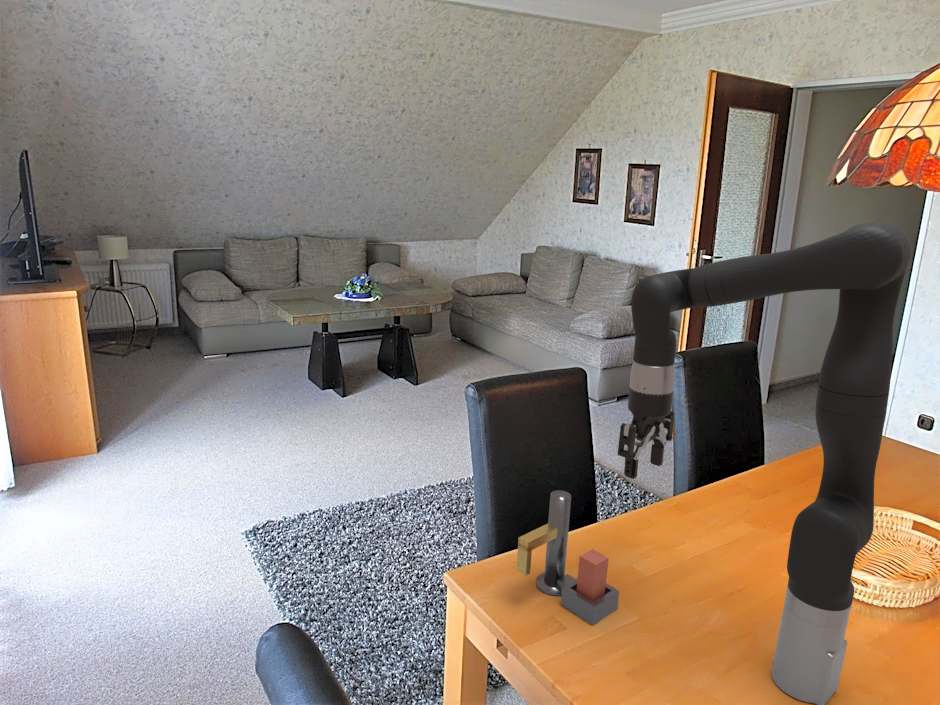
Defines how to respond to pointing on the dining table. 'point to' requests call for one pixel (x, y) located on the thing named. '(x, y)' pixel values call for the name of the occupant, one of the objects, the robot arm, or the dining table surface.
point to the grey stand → (562, 564)
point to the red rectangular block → (592, 575)
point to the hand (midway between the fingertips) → (643, 470)
